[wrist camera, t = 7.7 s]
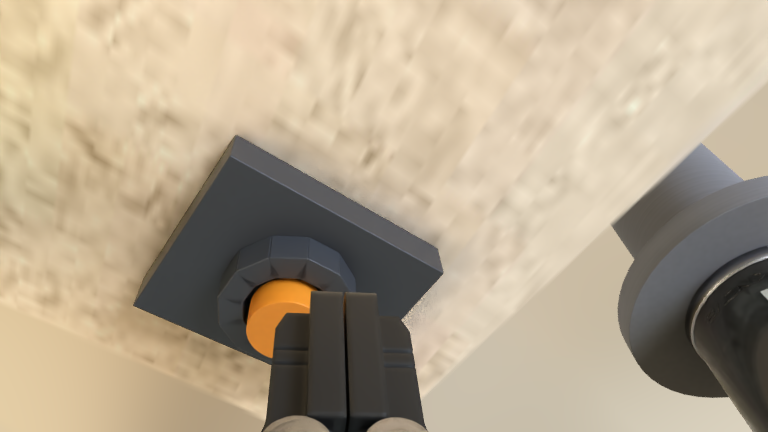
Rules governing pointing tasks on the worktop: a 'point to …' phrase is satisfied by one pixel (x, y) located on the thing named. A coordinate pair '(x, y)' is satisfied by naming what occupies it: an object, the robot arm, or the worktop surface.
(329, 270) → the switchbox
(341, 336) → the robot arm
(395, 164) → the worktop surface
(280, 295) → the button
